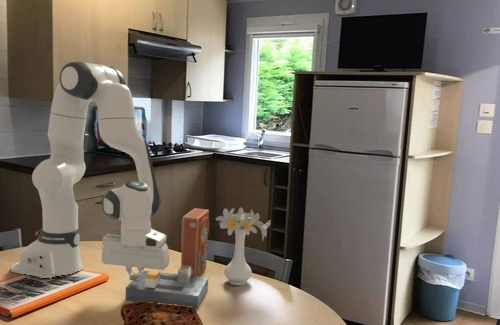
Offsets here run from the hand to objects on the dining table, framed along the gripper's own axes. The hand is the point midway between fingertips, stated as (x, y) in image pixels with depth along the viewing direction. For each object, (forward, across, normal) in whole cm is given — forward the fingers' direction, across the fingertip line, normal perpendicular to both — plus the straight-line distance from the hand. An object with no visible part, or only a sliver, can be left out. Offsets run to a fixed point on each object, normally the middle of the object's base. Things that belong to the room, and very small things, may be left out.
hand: (134, 279), depth 142 cm
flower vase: (+5, +30, +19) cm, 36 cm away
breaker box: (+5, +10, +4) cm, 11 cm away
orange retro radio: (+5, +13, +24) cm, 27 cm away
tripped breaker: (+1, +6, 0) cm, 6 cm away
